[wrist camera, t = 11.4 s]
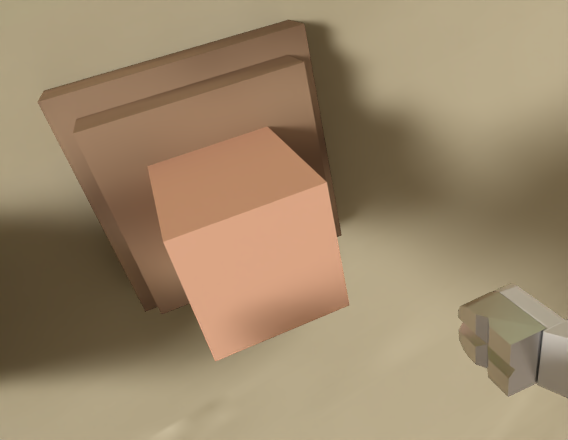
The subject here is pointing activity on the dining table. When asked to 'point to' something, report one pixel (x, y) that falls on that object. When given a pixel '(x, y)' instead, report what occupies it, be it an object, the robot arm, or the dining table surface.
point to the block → (249, 239)
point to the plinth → (181, 133)
